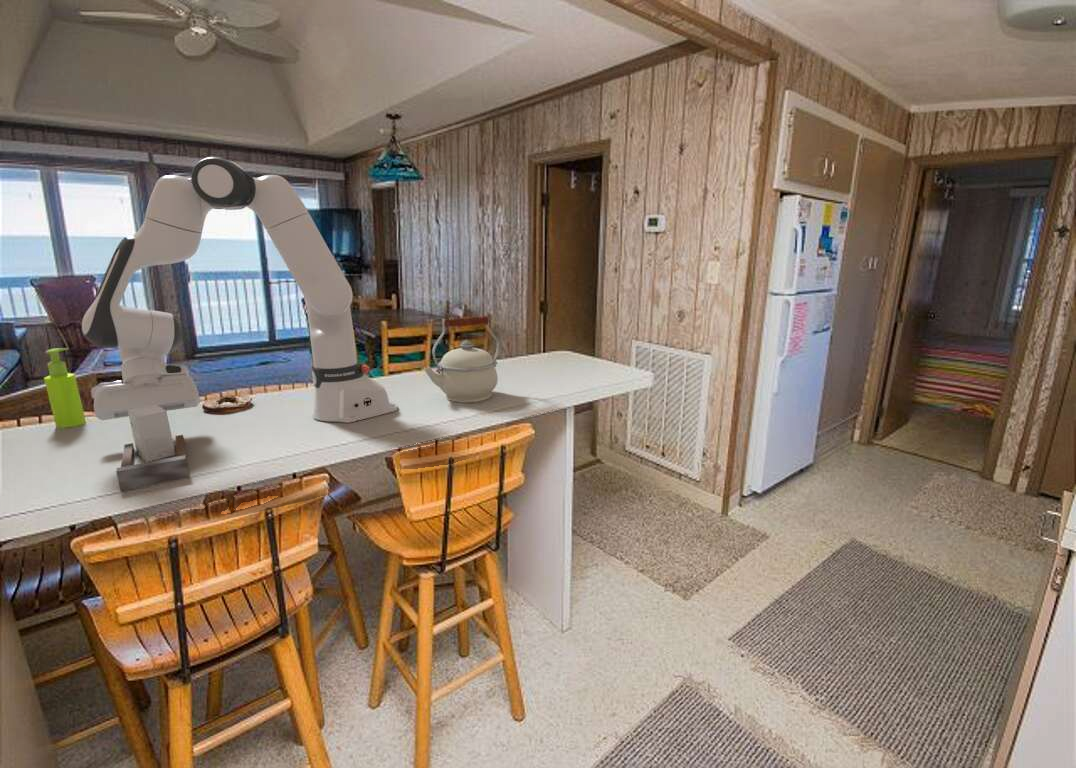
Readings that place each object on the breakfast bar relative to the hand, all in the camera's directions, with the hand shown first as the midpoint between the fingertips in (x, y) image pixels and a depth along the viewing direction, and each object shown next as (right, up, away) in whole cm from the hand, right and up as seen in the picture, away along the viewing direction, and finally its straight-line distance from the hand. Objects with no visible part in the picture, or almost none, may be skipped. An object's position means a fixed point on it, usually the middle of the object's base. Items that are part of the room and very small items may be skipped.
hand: (153, 427), depth 121 cm
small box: (+4, -6, -5) cm, 9 cm away
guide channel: (+8, -7, -9) cm, 14 cm away
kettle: (+67, +6, +40) cm, 78 cm away
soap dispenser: (-32, -1, +15) cm, 36 cm away
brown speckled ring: (0, +3, +29) cm, 29 cm away
